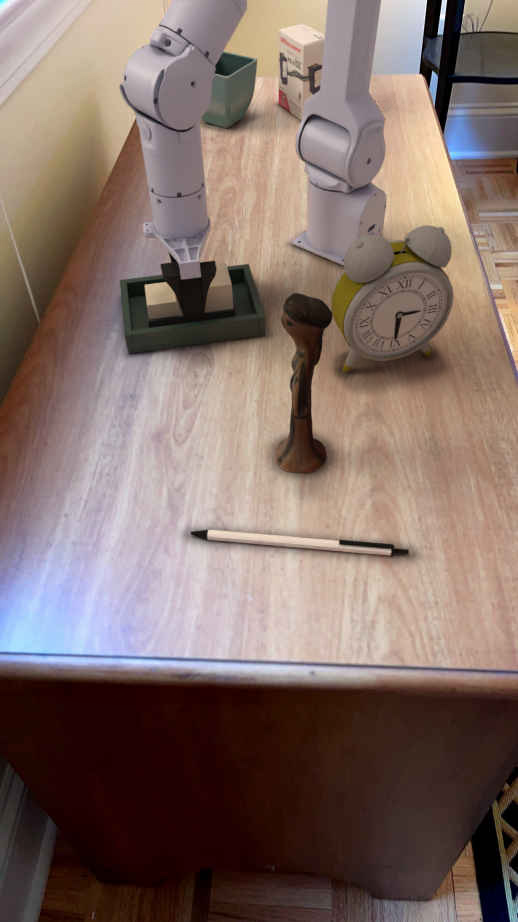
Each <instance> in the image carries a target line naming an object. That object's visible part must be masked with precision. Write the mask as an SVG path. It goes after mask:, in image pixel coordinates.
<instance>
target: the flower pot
mask: <svg viewBox="0 0 518 922" xmlns="http://www.w3.org/2000/svg"><path fill="white" fill-rule="evenodd" d="M215 68H216V70H215V76H214V78H213V81H212V94H211V101H210V105H209V108H208V110H207V111H206V112H205V113H204V115H203V116H202V118H201V119H200V120H201V121H202V122H203V123H207V124H211V125H213V126H217V127H221V128H225V129H228V128H230V127H232V126H233V125H234V124H236V123H237V122H238V121H241V120H242V119H243V118H244V117H245V115H246V113H247V112H248V110H249V108H250V105H251V103H252V100H253V98H254V93H255V87H256V77H257V69H258V58H255V57H251V56H247V55H246V56H245V55H243V54H237V53H233V52H230V51H225V50H224V51H223V53H222V55H221V56H220V58H219V60H218V62H217V63H216V65H215Z"/></svg>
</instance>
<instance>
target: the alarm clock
mask: <svg viewBox="0 0 518 922" xmlns="http://www.w3.org/2000/svg"><path fill="white" fill-rule="evenodd" d="M383 238H384V237H383ZM383 238H381V237H378V236H374V235H367V236H363V237H360V238H358V239H357V240H355V241H354V242H353V243H352V244H351V245H350V246H349V248H348V250H347V252H346V254H345V257H344V266H343V270H342V271H341V272H340V274H339V275H338V277H337V278H336V280H335V282H334V285H333V288H332V290H331V291H332V292H331V295H330V296H331V297H330V310H331V312H332V319H333V321H334V322H335V324H336V326H337V328H338V330H339V331H340V333H341V335H342V336H343V338H344V340H345V342H346V343H347V345H348V347H349V348H350V349H349V352H348V354H347V357H346V359H345V361H344V363H343V366H342V371H343V372H344V373H349V372H350V371H351V370H352V368H353V367H354V366H355V365H357V363H358V362H359V361H360V360H361V359H362V358H364V359H367V360H371V361H376V362H377V361H381V362H385V361H392V360H397V359H398V360H399V359H401V358H404V357H407V356H409V355H411V354H413V353H415V352H417V351H418V350H419V351H420V352H421V353H422V354H423V355H424V356H426V357H428V356H430V355H431V354H432V353H431V348H430V346H429V343H430V342H431V341H432V340H433V339H434V338H435V337H436V336H437V335H438V334H439V332H440V331H441V330H442V328H443V327H444V326H445V325H446V322H447V321H448V319H449V316H450V314H451V311H452V307H453V303H454V289H453V288H454V287H453V285H452V282H451V279H450V278H449V275H448V274H447V273H446V272H445V271H444V268H447V266H448V264H449V262H450V261H451V259H452V253H453V249H452V243H451V239H450V238H449V236H448V234H447V233H446V231H445V228H444V227H443V226H438V227H437V226H435V225H430V224H429V225H426V224H425V225H422V226H417V227H415V228H414V229H412V230H410V231H408V232H407V234H406V235H405V237H404V240H402V239H398V240H388V241H387V240H386V239H385V238H384V239H383Z"/></svg>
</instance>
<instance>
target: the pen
mask: <svg viewBox="0 0 518 922" xmlns="http://www.w3.org/2000/svg"><path fill="white" fill-rule="evenodd" d="M188 534H189V535H191V536H195V537H197V538H200V539H204V540H206V541H207V540H208V541H219V542H229V543H242V544H252V545H253V544H255V545H265V546H275V547H287V548H299V549H309V550H310V549H312V550H321V551H333V552H345V553H356V554H358V553H359V554H368V555H380V556H390V557H391V556H394V554H401V555H402V554H405V555H409V551H410V550H409V549H407V548H395V544H392V543H384V542H373V541H360V540H350V539H349V540H348V539H339V540H337V539H336V540H335V539H325V538H313V537H301V536H288V535H278V534H267V533H265V534H264V533H254V532H242V531H231V530H230V531H229V530H221V529H220V530H219V529H203V530H202V529H201V530H193V531H189V532H188Z"/></svg>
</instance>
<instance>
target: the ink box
mask: <svg viewBox="0 0 518 922" xmlns="http://www.w3.org/2000/svg"><path fill="white" fill-rule="evenodd" d="M324 40H325V33H322V32H321V31H319V30H318V29H315V28H313V27H311V25H308V24H306V23H299V24H295V25H291V26H288V27H284V28H280V29H278V101H277V102H278V105H279V106H281V107H282V108H283V109H285V110H286V111H287V112H289V113H290V114H291V115H293V116H294V117H296V119H298V120H299V121H300V122H301V121H302V117H303V109H304V103H305V101H306V100H307V99H309V98H310V97H311V96H313V95H314V94H315V93H317V92H318V91H319V90H320V85H321V74H322V62H323V51H324Z"/></svg>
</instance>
